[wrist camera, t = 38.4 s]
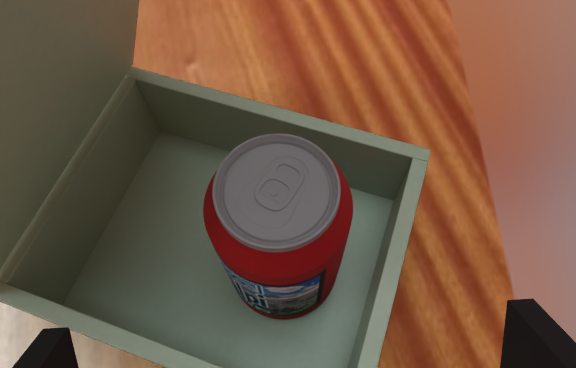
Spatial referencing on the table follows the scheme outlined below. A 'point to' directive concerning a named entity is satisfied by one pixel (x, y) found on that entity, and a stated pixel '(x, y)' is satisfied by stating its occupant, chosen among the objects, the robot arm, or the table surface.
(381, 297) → the chest
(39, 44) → the lid
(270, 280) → the beverage can
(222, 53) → the table surface
